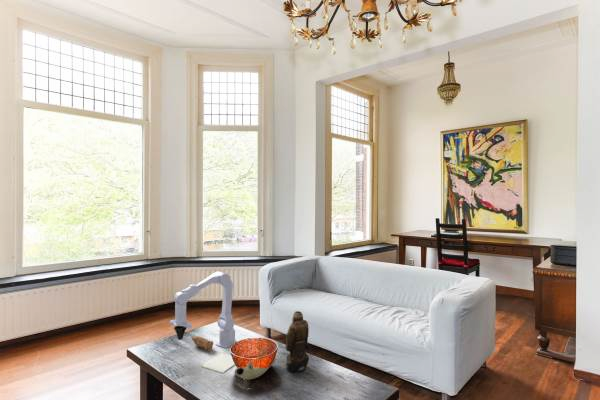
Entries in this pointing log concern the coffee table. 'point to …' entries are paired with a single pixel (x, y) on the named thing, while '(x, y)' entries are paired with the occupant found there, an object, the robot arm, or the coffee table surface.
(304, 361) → the sculpture
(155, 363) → the coffee table surface
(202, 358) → the coffee table surface
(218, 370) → the felt mat
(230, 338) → the robot arm
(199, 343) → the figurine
